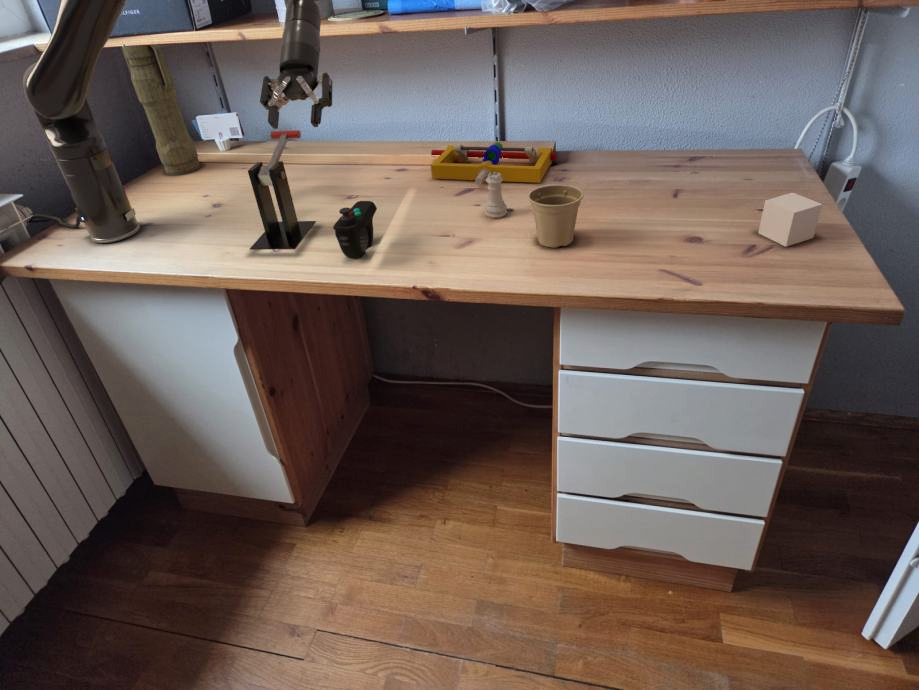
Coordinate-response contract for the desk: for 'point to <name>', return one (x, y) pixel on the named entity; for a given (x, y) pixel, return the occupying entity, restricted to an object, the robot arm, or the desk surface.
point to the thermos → (161, 107)
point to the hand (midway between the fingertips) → (293, 126)
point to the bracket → (276, 232)
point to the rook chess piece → (495, 197)
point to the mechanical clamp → (491, 163)
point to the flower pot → (555, 213)
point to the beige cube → (789, 219)
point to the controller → (355, 229)
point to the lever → (276, 153)
